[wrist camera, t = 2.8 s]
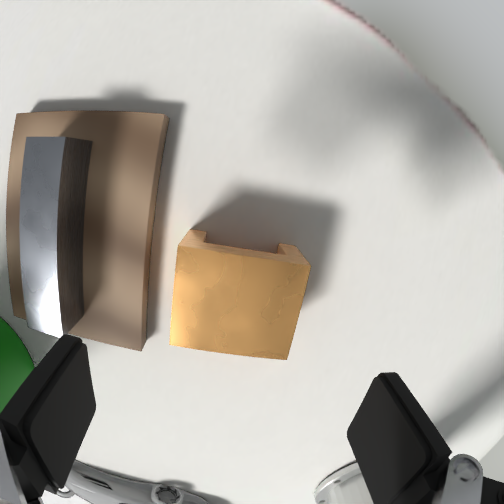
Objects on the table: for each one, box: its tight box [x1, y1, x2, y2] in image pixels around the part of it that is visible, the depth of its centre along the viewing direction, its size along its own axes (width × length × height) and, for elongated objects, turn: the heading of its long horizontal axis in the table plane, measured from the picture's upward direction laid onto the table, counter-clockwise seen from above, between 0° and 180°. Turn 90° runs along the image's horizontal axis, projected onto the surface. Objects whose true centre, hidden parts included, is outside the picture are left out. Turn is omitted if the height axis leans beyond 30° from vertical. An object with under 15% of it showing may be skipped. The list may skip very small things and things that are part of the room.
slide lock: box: [169, 229, 311, 360], centre depth 19 cm, size 6×7×4 cm
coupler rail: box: [19, 137, 93, 338], centre depth 16 cm, size 12×3×4 cm, turn 170°
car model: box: [57, 460, 207, 504], centre depth 26 cm, size 11×24×5 cm, turn 74°
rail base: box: [6, 111, 169, 351], centre depth 18 cm, size 16×12×2 cm
